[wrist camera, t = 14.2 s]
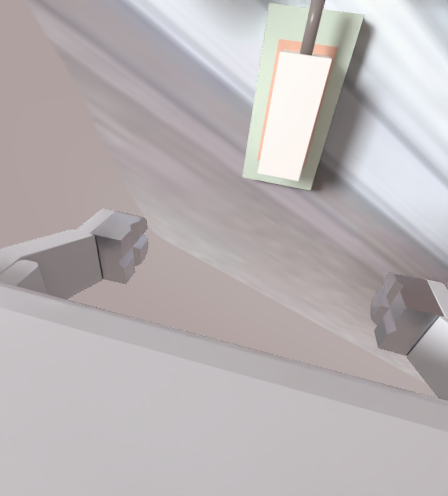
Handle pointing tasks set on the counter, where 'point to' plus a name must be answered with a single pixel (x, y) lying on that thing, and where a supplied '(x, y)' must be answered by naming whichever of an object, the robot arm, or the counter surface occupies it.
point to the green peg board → (340, 50)
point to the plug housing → (294, 103)
